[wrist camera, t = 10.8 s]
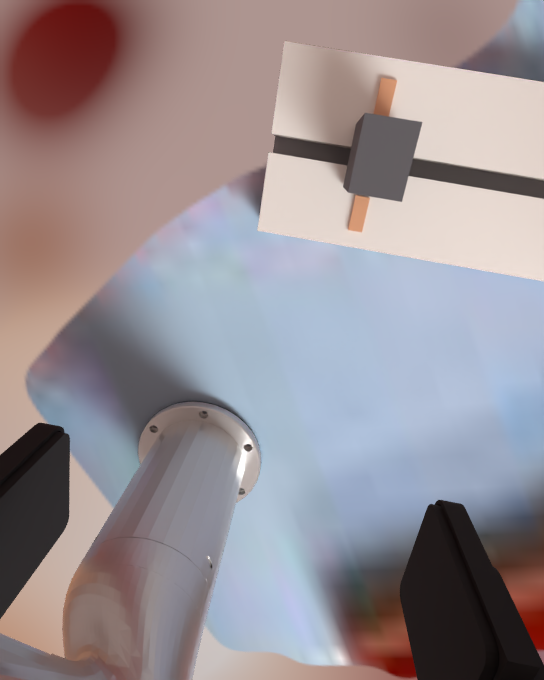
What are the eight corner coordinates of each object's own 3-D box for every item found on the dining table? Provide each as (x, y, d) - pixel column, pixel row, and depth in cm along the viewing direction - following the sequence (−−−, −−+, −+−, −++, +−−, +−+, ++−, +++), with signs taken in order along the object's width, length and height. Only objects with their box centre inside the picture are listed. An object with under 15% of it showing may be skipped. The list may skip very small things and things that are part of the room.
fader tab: (380, 191, 33) (401, 201, 24) (341, 185, 33) (348, 192, 24) (394, 134, 32) (422, 122, 23) (353, 127, 32) (365, 112, 23)
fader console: (583, 280, 35) (616, 294, 31) (264, 223, 36) (257, 231, 32) (656, 113, 31) (705, 106, 27) (288, 55, 32) (283, 39, 28)
